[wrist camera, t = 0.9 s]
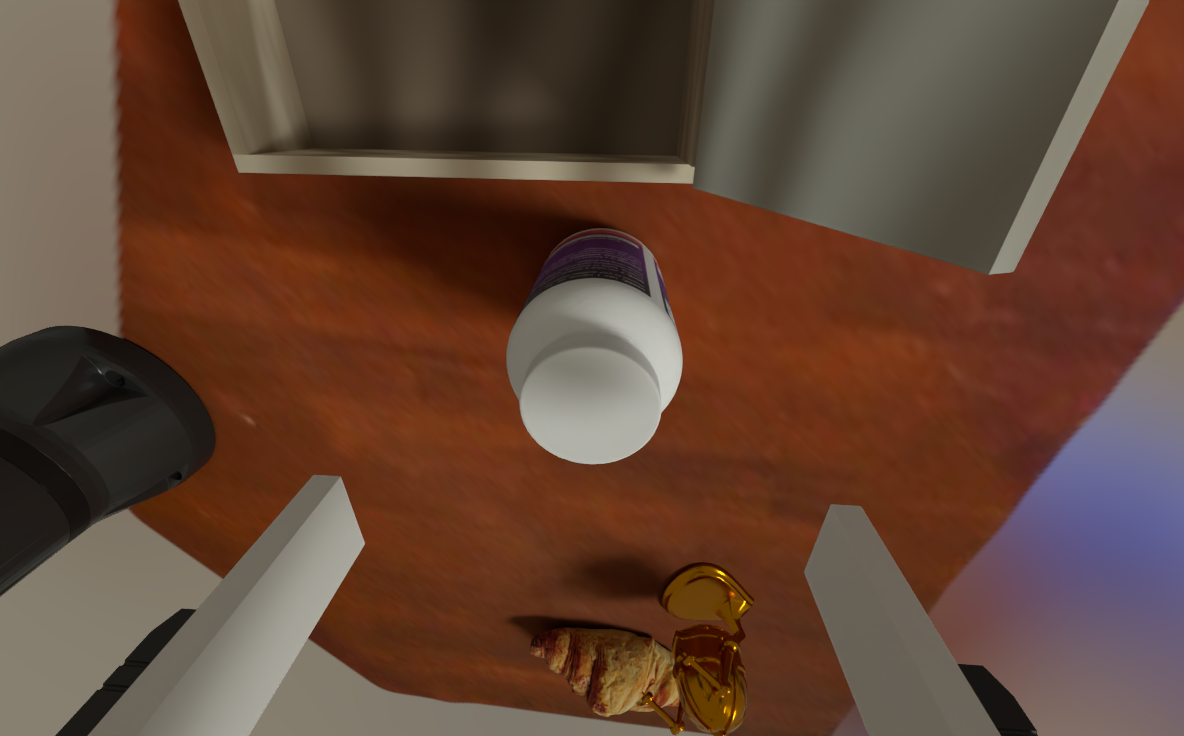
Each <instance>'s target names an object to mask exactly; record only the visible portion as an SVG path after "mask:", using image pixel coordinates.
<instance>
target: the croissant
mask: <svg viewBox="0 0 1184 736" xmlns="http://www.w3.org/2000/svg"><path fill="white" fill-rule="evenodd" d="M530 653H531V654H532V655H533V656H535V657H541V658H544V659H545V661H546V665H547V666H548V667H549V668H550V669H551V670H553V672H555V673H560V674H561V675H562V676H564V678H565V679H566V680H568V684H569V685H570V686H571V688H572V692H573V693H575V694H578V695H580V696H583V697H586V698H587V702H588V704H589V707H590V709H591V710H592V711H593V712H594V713H597V714H599V715H600V716H601V715H603V716H606V717H609V715H613V714H621V713H624V712H626V711H627V710H632V711H653V710H654V709H653V708H652V707H651V706H650V705H649V704H647V705H644V704H643V703H642V700H641V699H642V697H643V695H642V691H643V692H644V693H645V694H646V693H647V692H648V691H650V692H651V693H652V694H653V700H654V701H655V702H656V703H657V704H658V705H659V706H660V707H661V708H662V707H663V706H671V707H675V706H678V704H679V695H678V691H677V684H676V682H675V680H674V677H673V666H674V660H673V657H672V653H671V651H669V650H667V649H665V648H664V647H662V646H661V645H660V644H658V643H657V642H655V640H654V639H653V638H646V637H639V636H637V635H636V634H633V633H631V632H628V631H622V630H616V629H586V628H579V627H574V628H570V627H567V628H556V629H553V630H550V631H547V632H544V633H541V634H537V635H536V636H535V637H534V638H533V639H532V642H531V647H530Z"/></svg>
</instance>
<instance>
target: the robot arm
mask: <svg viewBox="0 0 1184 736" xmlns="http://www.w3.org/2000/svg"><path fill="white" fill-rule="evenodd" d="M214 448H215V432H214V427H213V424H212V421H211V418H210V416H209V414H208V412H207V410H206V408H205V407H204V405H203V403H202V402H201V400H200V399H199V398H198V396H197V395H196V394H195V392H194V391H193V390H192V389H191V388H190V387H189V385H188V384H187V383H186V382H185V381H184V380H183V379H182V378H181V377H180V376H179V375H177V374H176V373H175V372H174V371H173V370H172V369H170V368H169V367H168V366H167V365H165V364H164V363H163V362H161V361H160V360H159V359H157V358H156V357H154V356H153V355H151V354H150V353H148V352H146V351H145V350H143V349H141V348H139V347H138V346H136V345H134V344H132V343H130V342H128V341H126V340H123V339H121V338H119V337H116V336H113V335H110V334H108V333H105V332H102V331H98V330H94V329H90V328H85V327H77V326H55V327H49V328H46V329H43V330H40V331H37V332H35V333H32V334H29V335H26V336H24V337H21V338H18V339H16V340H13V341H11V342H9V343H7V344H5V345H3V346H1V347H0V596H2V595H3V594H4V593H6V592H7V591H8V590H9V589H11V588H12V587H13V586H15V585H16V584H17V583H18V582H19V581H21V580H22V579H23V578H25V577H26V576H27V575H28V574H30V573H31V572H32V571H34V570H35V569H36V568H37V567H38V566H40V565H41V564H42V563H44V562H45V561H46V560H47V559H49V558H50V557H52V556H53V555H54V554H55V553H57V552H58V551H59V550H61V549H62V548H63V547H64V546H65V545H67V544H68V543H69V542H70V541H72V540H73V539H74V538H76V537H77V536H78V535H80V534H81V533H82V532H84V531H85V530H86V529H88V528H89V527H91V526H92V525H93V524H95V523H97V522H99V521H101V520H103V519H105V518H108V517H110V516H112V515H114V514H116V513H119V512H121V511H123V510H125V509H128V508H130V507H132V506H134V505H136V504H139V503H141V502H143V501H145V500H148V499H150V498H152V497H154V496H156V495H159V494H161V493H163V492H165V491H168V490H170V489H172V488H174V487H176V486H178V485H180V484H181V483H183V482H184V481H186V480H187V479H188V478H189V477H191V476H192V475H193V474H194V473H195V472H197V471H198V470H199V469H200V468H201V467H203V466H204V465H205V464H206V463H207V462H208V461H209V459H210V458H211V456H212V454H213V452H214ZM364 545H365V543H364V540H363V537H362V534H361V532H360V529H359V526H358V523H357V520H356V518H355V515H354V512H353V509H352V507H351V504H350V501H349V498H348V495H347V493H346V490H345V487H344V484H343V481H342V479H341V476H324V475H313V476H312V477H311V479H310V480H309V481H308V482H307V483H306V484H305V485H304V487H303V488H302V489H301V490H300V491H299V492H298V494H297V495H296V496H295V497H294V498H293V499H292V500H291V502H290V503H289V504H288V505H287V506H286V507H285V509H284V510H283V511H282V512H281V513H280V514H279V515H278V517H277V518H276V519H275V520H274V521H273V522H272V524H271V525H270V526H269V527H268V528H267V529H266V530H265V532H264V533H263V534H262V535H261V536H260V537H259V539H258V540H257V541H256V542H255V543H254V544H253V545H252V547H251V548H250V549H249V550H248V551H247V552H246V554H245V555H244V556H243V557H242V558H241V559H240V560H239V562H238V563H237V564H236V565H235V566H234V567H233V569H232V570H231V571H230V572H229V573H228V574H227V575H226V577H225V578H224V579H223V580H222V581H221V582H220V584H219V585H218V586H217V587H216V588H215V589H214V591H213V592H212V593H211V594H210V595H209V596H208V597H207V599H206V600H205V601H204V602H203V603H202V605H200V607H199V608H198V609H197V610H193V609H181V610H179V611H178V612H177V613H175V614H174V615H173V616H171V617H170V618H169V619H167V620H166V621H165V622H163V623H162V624H161V625H159V626H158V627H157V628H155V629H154V630H153V631H151V632H150V633H149V634H148V636H147V637H146V638H145V639H144V640H143V641H142V642H141V643H140V644H139V645H138V646H137V647H136V649H135V650H134V651H133V652H132V653H131V654H130V655H129V656H128V657H127V658H126V659H125V663H124V665H122V666H119V667H118V668H117V669H116V670H115V671H114V672H113V674H112V675H111V676H110V677H109V678H108V679H107V680H106V681H105V682H104V683H103V687H102V688H101V689H100V690H97V691H96V692H95V693H94V694H93V695H92V696H91V698H90V699H89V700H88V701H87V702H86V703H85V704H84V705H83V706H82V707H81V709H80V710H79V711H78V712H77V713H76V714H75V715H74V716H73V717H72V718H71V719H70V720H69V722H68V723H67V724H66V725H65V726H64V727H63V728H62V729H61V730H60V731H59V732H58V734H56V736H249V734H250V733H251V731H252V729H253V727H254V726H255V724H256V723H257V721H258V719H259V718H260V716H261V714H262V713H263V711H264V709H265V708H266V706H267V705H268V703H269V701H270V699H271V698H272V696H273V695H274V693H275V691H276V690H277V688H278V686H279V685H280V683H281V681H282V680H283V678H284V676H285V675H286V673H287V671H288V670H289V668H290V667H291V665H292V663H293V662H294V660H295V658H296V657H297V655H298V653H299V652H300V650H301V648H302V647H303V645H304V644H305V641H306V640H307V639H308V637H309V635H310V634H311V632H312V630H313V629H314V627H315V625H316V624H317V622H318V620H319V619H320V617H321V615H322V614H323V612H324V611H325V609H326V607H327V606H328V604H329V602H330V601H331V599H332V597H333V596H334V594H335V592H336V591H337V589H338V587H339V586H340V584H341V583H342V581H343V579H344V578H345V576H346V574H347V573H348V571H349V569H350V568H351V566H352V564H353V563H354V561H355V559H356V558H357V556H358V554H359V553H360V551H361V550H362V548H363V546H364ZM804 574H805V576H806V579H807V581H808V584H809V586H810V589H811V591H812V594H813V596H814V599H815V601H816V604H817V607H818V609H819V612H820V614H821V617H822V619H823V622H824V624H825V627H826V629H827V632H828V634H829V637H830V639H831V642H832V644H833V647H834V649H835V652H836V655H837V657H838V660H839V662H840V665H841V667H842V670H843V672H844V675H845V677H846V680H847V682H848V685H849V687H850V690H851V692H852V695H853V697H854V700H855V703H856V705H857V707H858V710H859V713H860V715H861V718H862V720H863V723H864V725H865V728H866V730H867V733H868V735H869V736H1038V735H1037V731H1036V729H1035V728H1034V726H1033V725H1032V723H1031V722H1030V720H1029V719H1028V717H1027V716H1026V714H1025V713H1024V712H1023V710H1022V708H1021V707H1020V705H1019V704H1018V702H1017V701H1016V699H1015V698H1014V696H1013V695H1012V694H1011V693H1010V692H1009V691H1008V690H1007V689H1006V688H1004V686H1003V685H1002V684H1001V683H1000V682H999V681H998V680H997V679H996V678H994V676H992V674H991V673H990V672H988V670H987V669H986V668H984V667H983V666H978V665H965V664H957V663H956V661H955V660H954V658H953V657H952V655H951V653H950V652H949V650H948V648H947V647H946V645H945V643H944V642H943V640H942V638H941V637H940V635H939V633H938V632H937V630H936V629H935V627H934V625H933V624H932V622H931V620H930V619H929V617H928V615H927V614H926V612H925V610H924V609H923V607H922V605H921V604H920V602H919V601H918V599H917V597H916V596H915V594H914V592H913V591H912V589H911V587H910V586H909V584H908V583H907V581H906V579H905V578H904V576H903V574H902V573H901V571H900V569H899V568H898V566H897V564H896V563H895V561H894V560H893V558H892V556H891V555H890V553H889V551H888V550H887V548H886V546H885V545H884V543H883V542H882V540H881V538H880V537H879V535H878V533H877V532H876V530H875V528H874V527H873V525H872V523H871V522H870V520H869V519H868V517H867V515H866V514H865V512H864V510H863V509H862V507H861V506H849V505H830V508H829V510H828V513H827V515H826V518H825V520H824V523H823V525H822V528H821V530H820V533H819V535H818V538H817V540H816V543H815V545H814V548H813V550H812V553H811V556H810V558H809V561H808V563H807V566H806V568H805V571H804Z"/></svg>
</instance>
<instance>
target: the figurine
mask: <svg viewBox="0 0 1184 736" xmlns="http://www.w3.org/2000/svg"><path fill="white" fill-rule="evenodd" d="M661 603H662V606H663V608H664V609H665V610H666V611H667V612H669V613H670V614H672V615H673V616H675V617H678V618H682V619H688V620H724V621H725V622H726V623H727V624H728V626H729V627H730V629H731V630H732V632H733V634H734V636H733V635H731V634H730V633H728V632H727V631H726V630H724V629H722V628H720V627H718V626H715V625H710V624H698V625H694V626H691V627H688V628H685V629H683V630H680V631H677V630H676V632H675V635H674V638H673V643H672V657H673V660H674V666H673V677H674V680H675V682H676V684H677V691H678V695H679V704H678V709H677V715H676V721H674V720H673V719H672V718H671V717H670V716H669V715H668V714H667V713H666V712H665V711H664V710H663V709H662V708H661V707H660V706H659V705H658V704H657V703H656V702H655V701H654V700H653V694H652V693H651V692H650V691H648V692H647V693H646V694H645V693H644V692H643V691H642V695H643V697H642V699H641V700H642V703H643V704H644V705H647V704H649V705H650V706H651V707H652V708H653V709H654V710H655V711H656V712H657V713H658V714H659V715H660V716H661V717H662V718H663V719H664V720H665V721H666V722H668V723H669V724H670V731H671V733H672V734H673V735H677V734H679V732H680V731H682V730H684V728H685V725H684V722H683V721H682V719H683V715H684V712H685V713H686V715H687V716H688V717H689V718H690V719H691V720H692V721H693V722H694V724H695V725H696V727H697V728H698V729H700V730H702V731H704V732H709V733H711V734H712V735H714V736H725V735H728V734H729V733H731V732H733V731H734V730H735V729H737V728H738V727H739V726H740V724H741V723H742V722H743V720H744V717H745V713H746V707H747V683H746V679H745V677H746V673H745V668H744V666H743V665H742V662H741V658H740V645H739V643H740V642H741V641H742V640H743V639H744V638H745V633H744V631H743V629H742V627H741V624H740V618H741V617H742V616H743V615H745V614H746V613H747V611H748V610H749V609H750V608H751V606H752V605H753V603H754V599H753V598H752V597H751V596H750V595H749V594H748V593H747V591H746V590H745V589H744V588H743V587H742V586H741V585H740V583H739V582H738V581H737V580H736V579H735V578H734V577H733V576H732V575H731V574H729V573H728V572H727V571H726V570H724V569H723V568H721V567H719V566H717V565H715V564H711V563H699V564H694V565H691V566H689V567H687V568H685V569H683V570H682V571H680V572H679V573H677V574H676V575H675V576H674V577H673V578H672V579H671V580H670V581H669V582H668V583H667V585H666V586H665V588H664V590H663V592H662V596H661Z"/></svg>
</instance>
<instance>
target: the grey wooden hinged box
mask: <svg viewBox="0 0 1184 736" xmlns="http://www.w3.org/2000/svg"><path fill="white" fill-rule="evenodd" d="M1149 1H1150V0H178V2H179V4H180V7H181V10H182V13H183V16H184V19H185V21H186V24H187V27H188V30H189V33H190V36H191V39H192V41H193V44H194V47H195V50H196V53H197V56H198V58H199V61H200V64H201V67H202V70H203V73H204V76H205V78H206V81H207V84H208V87H209V90H210V93H211V95H212V98H213V101H214V104H215V107H216V110H217V113H218V115H219V118H220V121H221V124H222V127H223V130H224V132H225V135H226V138H227V141H228V144H229V147H230V150H231V152H232V155H233V158H234V161H235V164H236V167H237V169H238V172H239V173H280V174H322V175H363V176H405V177H447V178H488V179H530V180H572V181H613V182H655V183H693V186H692V188H695V189H698V190H702V191H705V192H709V193H712V194H715V195H719V196H722V197H726V198H729V199H732V200H736V201H739V202H743V203H746V204H750V205H753V206H756V207H760V208H763V209H767V210H770V211H773V212H777V213H780V214H784V215H787V216H791V217H794V218H797V219H801V220H804V221H808V222H811V223H814V224H818V225H821V226H825V227H828V228H832V229H835V230H838V231H842V232H845V233H849V234H852V235H855V236H859V237H862V238H866V239H869V240H872V241H876V242H879V243H883V244H886V245H890V246H893V247H896V248H900V249H903V250H907V251H910V252H913V253H917V254H920V255H924V256H927V257H931V258H934V259H937V260H941V261H944V262H948V263H951V264H954V265H958V266H961V267H965V268H968V269H972V270H975V271H978V272H982V273H985V274H999V273H1009V272H1014V270H1015V268H1016V266H1017V264H1018V262H1019V260H1020V258H1021V256H1022V254H1023V252H1024V250H1025V248H1026V246H1027V244H1028V242H1029V240H1030V238H1031V236H1032V234H1033V232H1034V230H1035V228H1036V226H1037V224H1038V222H1039V220H1040V218H1041V216H1042V214H1043V212H1044V210H1045V208H1046V206H1047V204H1048V202H1049V200H1050V198H1051V196H1052V194H1053V192H1054V190H1055V188H1056V186H1057V184H1058V182H1059V180H1060V178H1061V176H1062V174H1063V172H1064V170H1065V168H1066V166H1067V164H1068V162H1069V160H1070V158H1071V156H1072V154H1073V152H1074V150H1075V148H1076V146H1077V144H1078V142H1079V140H1080V138H1081V136H1082V134H1083V132H1084V130H1085V128H1086V126H1087V124H1088V122H1089V120H1090V118H1091V116H1092V114H1093V112H1094V110H1095V108H1096V106H1097V104H1098V102H1099V100H1100V98H1101V96H1102V94H1103V92H1104V90H1105V88H1106V86H1107V84H1108V82H1109V80H1110V78H1111V76H1112V74H1113V72H1114V70H1115V68H1116V66H1117V64H1118V62H1119V60H1120V58H1121V56H1122V54H1123V52H1124V50H1125V48H1126V46H1127V44H1128V43H1129V41H1130V39H1131V37H1132V35H1133V33H1134V31H1135V29H1136V27H1137V25H1138V23H1139V21H1140V19H1141V17H1142V15H1143V13H1144V11H1145V9H1146V7H1147V5H1148V3H1149Z"/></svg>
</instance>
